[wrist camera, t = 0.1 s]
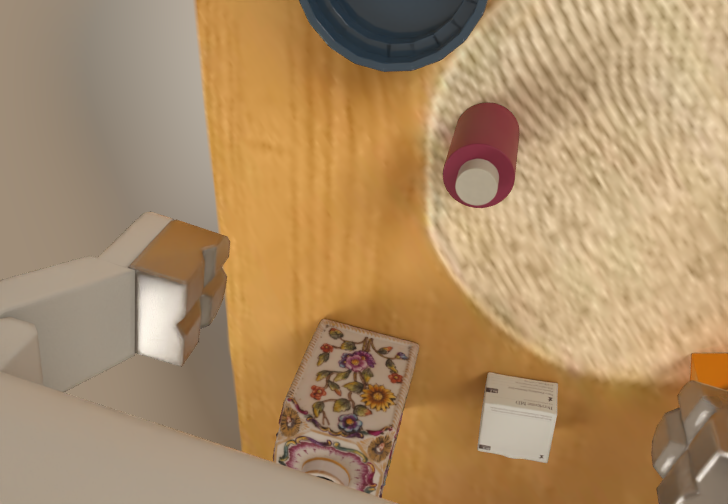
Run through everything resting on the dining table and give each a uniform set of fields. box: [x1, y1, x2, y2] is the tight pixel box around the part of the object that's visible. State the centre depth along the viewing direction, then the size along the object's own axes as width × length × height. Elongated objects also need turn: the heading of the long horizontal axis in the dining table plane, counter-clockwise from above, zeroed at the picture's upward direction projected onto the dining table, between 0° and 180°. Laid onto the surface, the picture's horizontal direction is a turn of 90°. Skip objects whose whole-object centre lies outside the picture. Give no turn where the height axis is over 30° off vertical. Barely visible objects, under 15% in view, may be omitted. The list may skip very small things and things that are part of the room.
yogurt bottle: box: [443, 103, 519, 208], centre depth 56 cm, size 6×6×11 cm
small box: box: [478, 372, 558, 463], centre depth 74 cm, size 8×8×5 cm
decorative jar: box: [273, 319, 419, 498], centre depth 71 cm, size 12×12×18 cm
